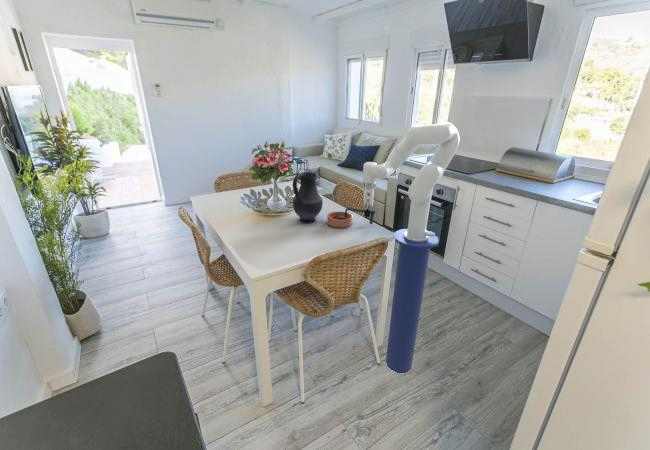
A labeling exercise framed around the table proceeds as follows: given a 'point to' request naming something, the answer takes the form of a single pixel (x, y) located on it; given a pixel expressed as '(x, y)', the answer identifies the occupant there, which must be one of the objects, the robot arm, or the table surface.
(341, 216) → the black lever handle
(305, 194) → the pitcher
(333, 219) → the bowl
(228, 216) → the table surface
